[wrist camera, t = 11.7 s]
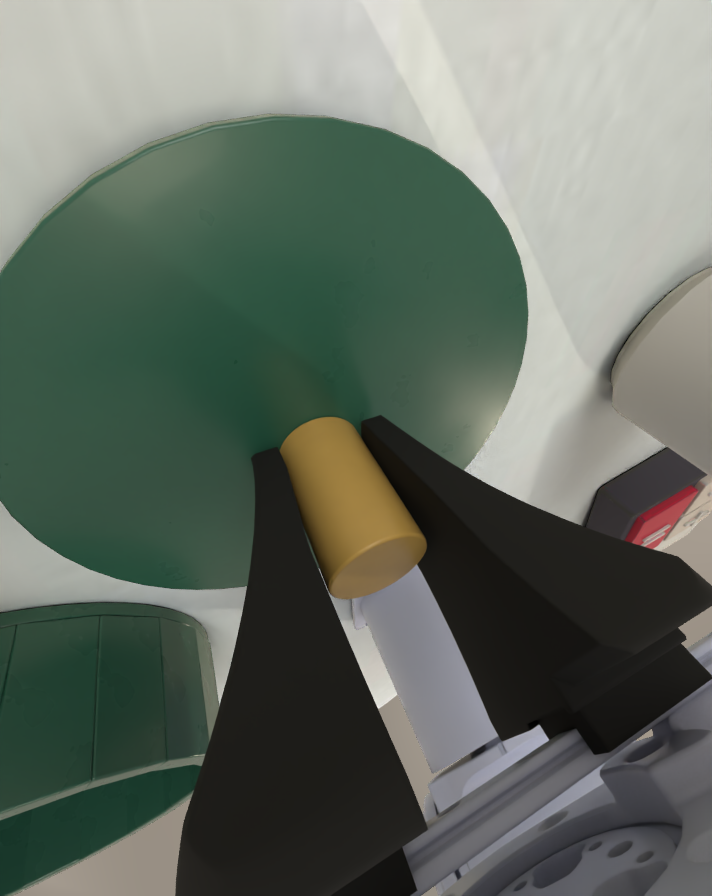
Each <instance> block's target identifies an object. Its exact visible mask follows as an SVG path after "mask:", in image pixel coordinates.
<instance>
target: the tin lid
mask: <svg viewBox="0 0 712 896" xmlns="http://www.w3.org/2000/svg"><path fill="white" fill-rule="evenodd" d="M527 325H528V302H527V288H526V282H525V278H524V273H523V269H522V265H521V260H520V257H519V254H518V252H517V249H516V247H515V245H514V242H513V240H512V237H511V235H510V233H509V230H508V228H507V226H506V225H505V223H504V222H503V220H502V219H501V217H500V216H499V214H498V213H497V211H496V209H495V208H494V206H493V205H492V203H491V202H490V200H489V199H488V198H487V197H486V196H485V195H484V194H483V193H482V192H481V190H480V189H479V188H478V187H477V186H476V185H475V184H474V183H473V182H472V181H471V180H470V179H469V178H468V177H467V176H466V175H465V174H464V173H463V172H462V171H461V170H459V169H458V168H456V167H455V166H453V165H452V164H450V163H449V162H448V161H446V160H445V159H443V158H442V157H440V156H439V155H437V154H436V153H435V152H433V151H432V150H430V149H429V148H427V147H425V146H422V145H420V144H418V143H415V142H413V141H411V140H409V139H406V138H404V137H402V136H399V135H397V134H395V133H393V132H390V131H388V130H386V129H382V128H378V127H373V126H369V125H364V124H360V123H355V122H351V121H346V120H342V119H337V118H333V117H328V116H317V115H288V114H264V115H257V116H250V117H243V118H237V119H230V120H223V121H216V122H210V123H206V124H203V125H200V126H197V127H194V128H191V129H188V130H185V131H182V132H179V133H176V134H173V135H170V136H168V137H165V138H162V139H159V140H156V141H153V142H150V143H147V144H146V145H144V146H142V147H140V148H138V149H137V150H135V151H133V152H131V153H129V154H128V155H126V156H124V157H122V158H121V159H119V160H117V161H115V162H113V163H112V164H110V165H108V166H106V167H104V168H103V169H101V170H99V171H97V172H95V173H94V174H92V175H91V176H90V177H88V178H87V179H86V180H85V181H84V182H83V183H81V184H80V185H79V186H78V187H77V188H75V189H74V190H73V191H72V192H71V193H69V194H68V195H67V196H66V197H65V198H63V199H62V200H61V201H60V202H59V203H57V204H56V205H55V206H54V207H53V208H52V209H50V210H49V211H48V212H47V213H46V214H44V216H43V217H42V218H41V219H40V221H39V222H38V223H37V224H36V226H35V227H34V228H33V229H32V231H31V232H30V233H29V234H28V236H27V237H26V238H25V239H24V241H23V242H22V243H21V244H20V246H19V247H18V248H17V249H16V251H15V252H14V253H13V254H12V256H11V257H10V258H9V259H8V261H7V262H6V264H5V266H4V267H3V269H2V271H1V273H0V501H1V502H2V503H3V505H4V506H5V507H6V509H7V510H8V511H9V513H10V514H11V516H12V517H14V518H15V519H16V520H17V521H18V522H19V523H20V524H21V525H22V526H23V527H24V528H25V529H26V530H28V531H29V532H30V533H31V534H32V535H33V536H34V537H35V538H36V539H38V540H39V541H41V542H42V543H44V544H45V545H47V546H48V547H50V548H51V549H53V550H54V551H56V552H57V553H59V554H60V555H62V556H63V557H65V558H67V559H69V560H71V561H74V562H76V563H78V564H80V565H82V566H84V567H86V568H88V569H90V570H93V571H96V572H99V573H102V574H105V575H108V576H110V577H113V578H116V579H120V580H124V581H129V582H133V583H138V584H142V585H148V586H155V587H163V588H171V589H192V590H203V589H225V588H235V587H244V586H247V584H248V578H249V571H250V564H251V554H252V545H253V535H254V518H255V481H254V471H253V465H252V461H251V458H252V456H253V455H254V454H255V453H259V452H262V451H265V450H268V449H272V448H275V447H278V449H279V451H280V453H281V455H282V457H283V460H284V462H285V464H286V466H287V469H288V473H289V476H290V480H291V483H292V487H293V491H294V494H295V498H296V502H297V505H298V509H299V512H300V516H301V520H302V523H303V527H304V531H305V534H306V537H307V540H308V543H309V546H310V549H311V552H312V555H313V557H314V559H315V562H316V564H317V567H318V568H320V570H321V573H322V576H323V578H324V581H325V583H326V586H327V588H328V591H329V592H330V594H331V595H332V596H334V597H335V598H338V599H354V598H359V597H363V596H366V595H369V594H372V593H375V592H377V591H379V590H381V589H384V588H385V587H387V586H389V585H391V584H393V583H394V582H396V581H397V580H399V579H400V578H402V577H403V576H404V575H406V574H407V573H408V572H409V571H410V570H411V569H413V568H414V567H415V566H416V565H417V564H418V562H419V561H420V560H421V559H422V557H423V556H424V554H425V552H426V549H427V541H426V538H425V536H424V535H423V533H422V532H421V530H420V529H419V527H418V525H417V524H416V522H415V521H414V519H413V518H412V516H411V515H410V513H409V511H408V510H407V508H406V507H405V505H404V504H403V502H402V500H401V499H400V497H399V496H398V494H397V493H396V491H395V490H394V488H393V486H392V485H391V483H390V482H389V480H388V479H387V477H386V476H385V474H384V472H383V471H382V469H381V468H380V466H379V465H378V463H377V462H376V460H375V458H374V457H373V455H372V454H371V452H370V451H369V449H368V448H367V446H366V444H365V443H364V441H363V440H362V438H361V421H363V420H366V419H369V418H373V417H376V416H379V415H382V416H383V417H385V418H386V419H388V420H389V421H390V422H392V423H393V424H395V425H396V426H397V427H399V428H400V429H402V430H403V431H405V432H406V433H407V434H409V435H410V436H412V437H413V438H414V439H416V440H417V441H419V442H420V443H422V444H423V445H425V446H426V447H428V448H429V449H431V450H432V451H434V452H435V453H437V454H438V455H440V456H441V457H443V458H444V459H446V460H447V461H449V462H451V463H452V464H454V465H455V466H457V467H459V468H460V469H462V470H464V469H465V468H466V467H467V466H468V465H469V464H470V462H471V461H472V460H473V458H474V457H475V456H476V454H477V453H478V452H479V450H480V449H481V448H482V447H483V445H484V444H485V442H486V440H487V439H488V437H489V436H490V434H491V433H492V431H493V430H494V428H495V426H496V425H497V423H498V421H499V419H500V417H501V415H502V413H503V411H504V410H505V408H506V405H507V403H508V401H509V398H510V396H511V394H512V391H513V389H514V387H515V384H516V380H517V377H518V374H519V371H520V367H521V364H522V360H523V355H524V349H525V344H526V339H527Z"/></svg>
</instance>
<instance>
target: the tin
mask: <svg viewBox="0 0 712 896" xmlns="http://www.w3.org/2000/svg"><path fill="white" fill-rule="evenodd" d="M218 710H219V701H218V694H217V687H216V680H215V673H214V667H213V660H212V653H211V646H210V643H209V642H208V637H207V633H206V631H205V630H204V628H203V627H202V625H201V624H200V623H198V622H197V621H196V620H195V619H193V618H192V617H189V616H187V615H185V614H183V613H181V612H178V611H174V610H171V609H168V608H162V607H157V606H151V605H143V604H131V603H84V604H67V605H58V606H48V607H39V608H31V609H25V610H19V611H12V612H6V613H0V896H13V895H16V894H18V893H20V892H22V891H23V890H26V889H28V888H30V887H32V886H34V885H36V884H38V883H40V882H42V881H44V880H46V879H48V878H50V877H52V876H54V875H56V874H58V873H60V872H62V871H64V870H66V869H68V868H70V867H72V866H74V865H76V864H78V863H80V862H82V861H84V860H86V859H88V858H90V857H92V856H94V855H96V854H98V853H99V852H101V851H103V850H105V849H107V848H109V847H111V846H112V845H114V844H116V843H118V842H120V841H121V840H123V839H125V838H127V837H129V836H131V835H133V834H135V833H136V832H138V831H139V830H141V829H143V828H145V827H146V826H148V825H150V824H151V823H153V822H155V821H156V820H158V819H159V818H161V817H163V816H165V815H166V814H168V813H169V812H171V811H173V810H175V809H176V808H177V807H179V806H180V805H182V804H183V803H184V802H186V801H187V800H188V799H190V798H192V795H193V791H194V788H195V785H196V782H197V779H198V776H199V773H200V770H201V767H202V763H203V760H204V757H205V754H206V751H207V748H208V745H209V741H210V738H211V735H212V731H213V728H214V725H215V721H216V717H217V714H218Z"/></svg>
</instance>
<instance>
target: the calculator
mask: <svg viewBox="0 0 712 896" xmlns="http://www.w3.org/2000/svg"><path fill="white" fill-rule="evenodd" d="M711 511H712V477H710V476H709V475H708V474H706V473H705V472H703V471H702V470H700V469H699V468H697V467H696V466H695V465H693V464H692V463H690V462H689V461H687V460H686V459H684V458H683V457H681V456H680V455H679V454H677V453H676V452H674V451H673V450H671V449H670V448H666V449H664V450H663V451H661V452H659V453H658V454H656V455H654V456H653V457H651V458H649V459H647V460H646V461H644V462H642V463H641V464H639V465H637V466H636V467H634V468H632V469H631V470H629V471H627V472H626V473H624V474H622V475H620V476H619V477H617V478H615V479H614V480H612V481H610V482H609V483H607V484H605V485H604V486H602V487H601V488H600V489H599V491H598V493H597V496H596V499H595V502H594V505H593V508H592V511H591V514H590V517H589V520H588V522H587V525H586V528H589V529H592V530H595V531H597V532H600V533H603V534H606V535H609V536H612V537H615V538H618V539H621V540H624V541H627V542H631V543H634V544H637V545H641V546H644V547H647V548H651V549H654V550H657V551H661V550H663V549H664V548H666V547H668V546H669V545H671V544H673V543H674V542H676V541H678V540H679V539H681V538H683V537H684V536H686V535H687V534H689V533H690V532H691V531H692V529H693V528H694V527H695V526H696V525H697V523H698V522H699V521H700V520H702V519H704V518H705V517H706V516H708V515H709V513H710V512H711Z"/></svg>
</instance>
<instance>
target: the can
mask: <svg viewBox="0 0 712 896" xmlns="http://www.w3.org/2000/svg"><path fill="white" fill-rule="evenodd" d="M611 384H612V386H613V397H612V406H613V407H614V408H615V410H616V411H617V412H618V413H619V414H621V415H622V416H624V417H625V418H626V419H628V420H629V421H631V422H632V423H634V424H635V425H637V426H638V427H639V428H641V429H642V430H644V431H645V432H647V433H648V434H650V435H651V436H653V437H654V438H655V439H657V440H658V441H660V442H661V443H663V444H664V445H666V446H667V447H668V448H670V449H671V450H673V451H674V452H676V453H677V454H679V455H680V456H681V457H683V458H684V459H686V460H687V461H689V462H690V463H692V464H693V465H695V466H696V467H697V468H699V469H700V470H702V471H703V472H705V473H706V474H708V475H709V476H710V477H712V267H709V268H707V269H705V270H703V271H701V272H700V273H698V274H696V275H694V276H692V277H690V278H689V279H687V280H686V281H685V282H683V283H682V284H681V285H679V286H678V287H677V288H676V289H674V290H673V291H672V292H670V293H669V294H668V295H667V296H666V297H665V298H664V299H663V300H662V301H661V302H660V303H659V304H658V305H657V306H656V307H655V308H654V309H653V310H651V311H650V312H649V313H648V315H647V316H646V317H645V318H644V319H643V321H642V322H641V323H640V324H639V326H638V327H637V328H636V329H635V330H634V332H633V333H632V334H631V335H630V337H629V338H628V340H627V342H626V343H625V345H624V346H623V348H622V350H621V351H620V353H619V354H618V357H617V359H616V362H615V364H614V367H613V369H612V372H611Z"/></svg>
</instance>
